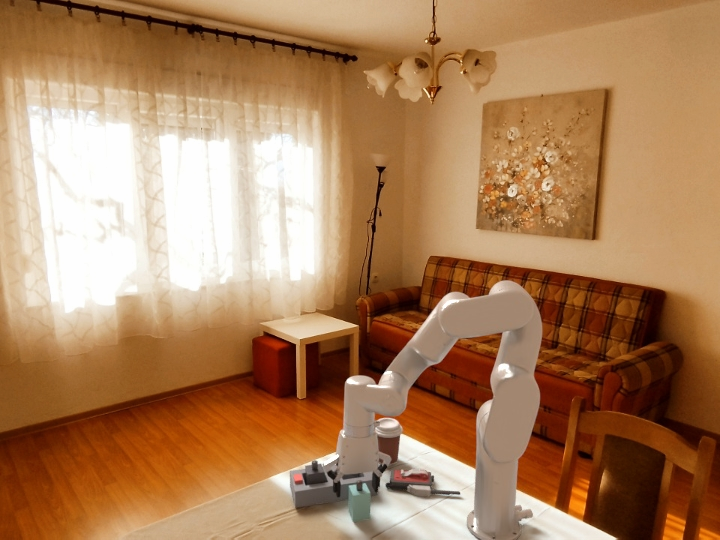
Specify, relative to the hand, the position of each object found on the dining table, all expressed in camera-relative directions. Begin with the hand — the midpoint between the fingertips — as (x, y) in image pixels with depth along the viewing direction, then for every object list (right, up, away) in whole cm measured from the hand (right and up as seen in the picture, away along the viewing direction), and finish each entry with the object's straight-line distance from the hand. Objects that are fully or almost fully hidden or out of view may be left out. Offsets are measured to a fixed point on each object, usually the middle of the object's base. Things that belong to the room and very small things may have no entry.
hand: (356, 491), depth 127 cm
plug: (+1, -6, +1) cm, 6 cm away
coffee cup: (+9, -2, +27) cm, 28 cm away
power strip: (-6, -5, +11) cm, 14 cm away
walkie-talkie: (+18, -5, +13) cm, 23 cm away
